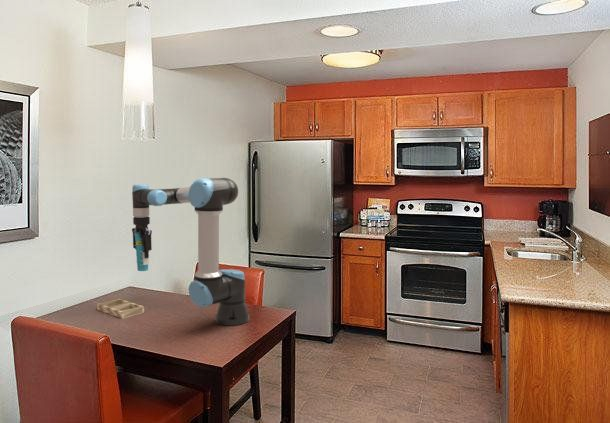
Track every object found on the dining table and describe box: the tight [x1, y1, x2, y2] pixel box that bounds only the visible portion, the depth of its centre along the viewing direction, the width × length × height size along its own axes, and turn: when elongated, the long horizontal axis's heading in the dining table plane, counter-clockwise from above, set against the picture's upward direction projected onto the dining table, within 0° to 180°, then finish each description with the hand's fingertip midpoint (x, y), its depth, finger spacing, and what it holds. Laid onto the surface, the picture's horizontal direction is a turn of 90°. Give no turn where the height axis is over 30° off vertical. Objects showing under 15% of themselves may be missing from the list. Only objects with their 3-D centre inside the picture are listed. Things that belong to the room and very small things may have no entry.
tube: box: [134, 232, 149, 272], centre depth 228 cm, size 7×5×19 cm, turn 133°
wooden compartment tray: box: [96, 298, 145, 320], centre depth 226 cm, size 22×12×3 cm, turn 52°
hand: (142, 263), depth 228 cm, fingers closed on tube, 5 cm apart
